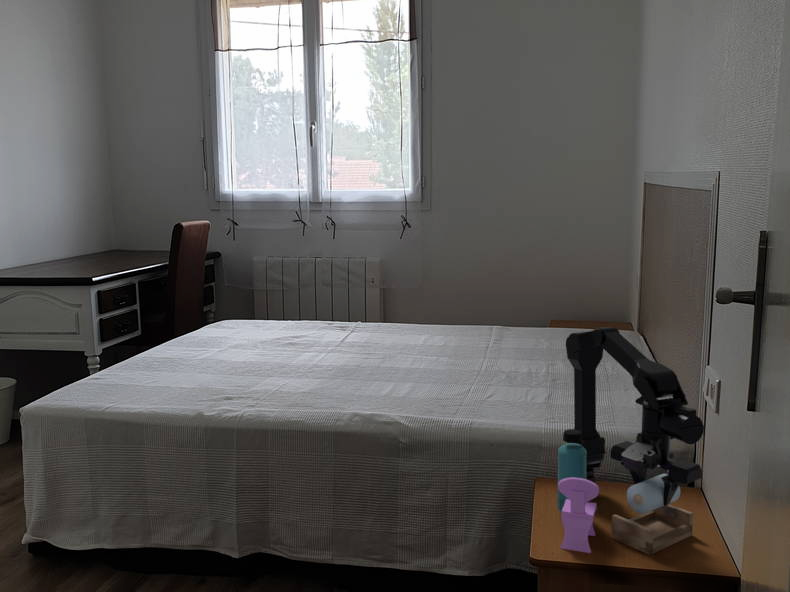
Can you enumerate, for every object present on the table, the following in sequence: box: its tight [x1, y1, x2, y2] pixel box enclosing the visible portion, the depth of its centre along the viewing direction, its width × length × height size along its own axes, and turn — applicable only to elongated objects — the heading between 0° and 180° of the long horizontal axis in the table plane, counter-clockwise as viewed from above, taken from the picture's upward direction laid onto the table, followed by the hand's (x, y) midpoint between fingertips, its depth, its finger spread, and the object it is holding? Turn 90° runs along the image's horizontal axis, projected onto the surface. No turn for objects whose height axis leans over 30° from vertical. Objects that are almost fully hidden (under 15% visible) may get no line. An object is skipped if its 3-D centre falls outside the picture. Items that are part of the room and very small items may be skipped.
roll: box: [626, 473, 681, 515], centre depth 159 cm, size 10×6×6 cm, turn 126°
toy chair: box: [557, 477, 600, 554], centre depth 158 cm, size 8×9×15 cm
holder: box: [611, 503, 694, 556], centre depth 160 cm, size 10×14×5 cm, turn 126°
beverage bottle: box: [557, 428, 587, 514], centre depth 169 cm, size 6×7×20 cm
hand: (653, 500), depth 159 cm, fingers closed on roll, 6 cm apart
